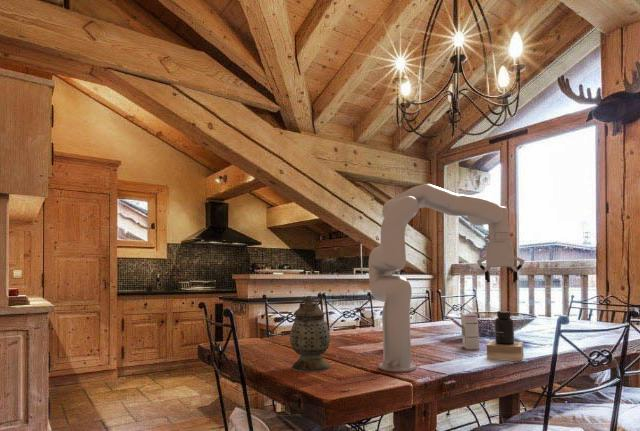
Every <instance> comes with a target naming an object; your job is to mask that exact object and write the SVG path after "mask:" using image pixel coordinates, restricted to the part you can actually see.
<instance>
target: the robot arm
mask: <svg viewBox="0 0 640 431" xmlns="http://www.w3.org/2000/svg"><path fill="white" fill-rule="evenodd" d="M423 208H428V209H431V210H433V211H437V212H440V213H442V214H445V215H449V216H453V217H457V216H458V217H464V216H465V217H467V221H468V222H469V223H470V224H472V225H474V226H484V225H488V226H487V227H488V234H486V235H484V239H485V240H488V241H486V247H485V256H484V257H482V258H479V259H478V260H477V261H476V263H477V265H478V267H479V268H480V269H481V270H482V271H483V272H484V280H485V281H486V283H490V281H491V280H490V279H491V278H490V272H489V270H490V269H491V268H511V269H512V270H513V272H512V277H513V278H512V280H513V283H517V281H518V279H519V276H518V272H519V271H520V270H521V268H522V267H523V265H524V263H525V260H524V259H522V258H521V257H518V256H516V255H515V253H514V246H513V243H512V242H513V241H512V240H511V239H510V224H509V209H508V207H506V206H501V205H499V204H498V203H496V202H494V201H491V200H489V199H485V198H483V197H482V198H481V197H476V196H471V195H466V194H460V193H455V192H452V191H450V190H447V189H445V188H442V187H439V186H436V185H433V184H431V183H423V184H420V185H416V186H413V187H411V188H408V189H407V190H405V191H403V192H401V193H400V194H398V195H396V196H394V197H392V198H390V199H389V200H387V201H386V202H385V203H384V204H383V206H382V208H381V214H382V216H383V220H382V223H381V225H380V245H378V246H376V247H374V248H373V249H372V250H371V252H370V253H369V257H368V278H369V281H368V282H369V289H370V293H371V295H372V297H373V298H374V299H375V300H377V301H379V302H384V304H383V307H382V312H381V322H382V323H381V324H382V353H383V358H382V359H383V362H380V363H378V368H379V369H380V370H381V371H386V372H396V373H397V372H398V373H400V372H401V373H402V372H405V373H406V372H411V371H414V370H416V369H417V365H416V364H415V363H413V362H412V343H411V341H412V340H411V318H410V316H411V310H410V309H411V302H412V301H411V300H412V291H413V290H412V286H411V283H410V282H409V281H408V279H407V278H405V277H404V276H401V275H396V274H395V275H393V273H394V272H399V271H401V270H403V269H404V268H405V266H406V265H407V264H406V263H407V258H406V257H407V254H406V240H405V239H406V238H405V237H406V236H405V235H406V228H407V225H408V224H409V222H410V220H412V219H413V218H415V217H416V215H417V214H418V212H419V209H423ZM515 260H516V261H518V262H519V264H518V265H517V266H515V263H516V262H515ZM483 262H485V263H486V266H484V265H483Z"/></svg>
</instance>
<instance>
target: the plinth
mask: <svg viewBox="0 0 640 431" xmlns="http://www.w3.org/2000/svg"><path fill="white" fill-rule="evenodd" d="M524 355H525V353H524V342H523V341H514V344H511V345H504V344H497V343H496V342H495V340H489V341H488V342H487V343H486V358H487V360H503V361H514V362H515V361H516V362H517V361H518V362H522V361H523V359H524Z"/></svg>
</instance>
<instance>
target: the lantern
mask: <svg viewBox="0 0 640 431" xmlns="http://www.w3.org/2000/svg"><path fill="white" fill-rule="evenodd" d="M313 298H314V297H312V295H307V296H305V298H304V299H303V300H301V302H300V303H299V307H298V308H297V309H296V311H294V313H293V316H295V317H294V321H293V324H292V326H291V328H290V332H289V342H290V345H291V348H292V350H293V351H294V352H295V353H296V354H297V355H300V356H299V358H298V359H297V360H296V361H295V362H294V363H293V364H292V366H291V370H293V371H295V372H301V373H318V372H325V371H329V370H330V369H331V368H330V367H331V365H330V364H329V363H327V361H325V359H324V358H323V356H322V355H324V353H326V351H327V350H328V349H329V345H330V343H331V340H330V336H331V335H330V329H329V326H328V324H327V323H326V322H325V320H324V316H325V313H324V311H323V310H322V309H321V308H320V307H319V304H318V302H317V301H316V299H313Z"/></svg>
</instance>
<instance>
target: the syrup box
mask: <svg viewBox="0 0 640 431" xmlns="http://www.w3.org/2000/svg"><path fill="white" fill-rule="evenodd" d="M478 320H479V319H478V314H477V313H474V312H462V313H461V312H460V321H461V339H462V340H461V342H462V348H464V349H465V350H480V334H479V322H478Z"/></svg>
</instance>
